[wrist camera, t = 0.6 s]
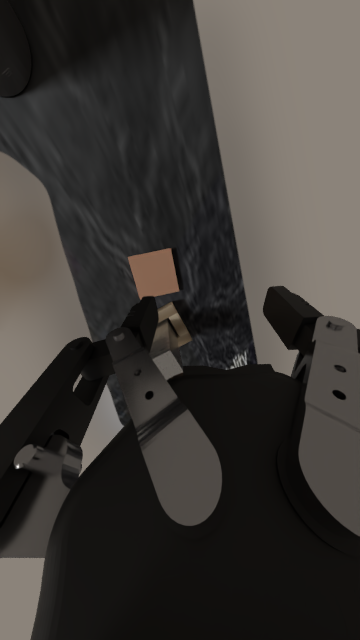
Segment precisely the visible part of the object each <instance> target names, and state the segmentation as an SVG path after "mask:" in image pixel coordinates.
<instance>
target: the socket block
mask: <svg viewBox="0 0 360 640" xmlns="http://www.w3.org/2000/svg"><path fill="white" fill-rule="evenodd" d="M157 310H158V314H159V321H158V323H159V322H161V321H163V320H165V319H167V318H168V317H169V319H170V321H171V323H172V324H173V326H174V328H175V329H176V331H177V333H176V335H177V340H178V345H179V347H180V346H181V345H183V344H185V343H187V342H189V341H191V340H192V338H191V336H190V334H189V332H188V330H187V328H186V326H185V325H184V323H183V321H182V319H181V317H180V315H179V314H178V312H177V310H176V308H175V306H174V305H173V303H172V302H170V303H168V304H166V305H164V306H163V307H161V308H159V309H157Z"/></svg>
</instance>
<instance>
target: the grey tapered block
mask: <svg viewBox="0 0 360 640" xmlns="http://www.w3.org/2000/svg"><path fill="white" fill-rule="evenodd" d="M149 355H150V357H151V358H152V360H153V361H154V363H155V364H156V366H157V367H158V369H159V370H160V372H161V373H162V375H163V376H164V378H165V379H166V380H168V379H169V378H171V377H173V376H174V375H177V374H179V373H183V365H182V360H181V355H180V350H179V345H178V340H177V335H176V331H175V329H174V328H173V326H172V324H171V322H170V321H169V319H168V318H167V319H165V320H163V321H161V322H159V323H158V325H157V328H156V332H155V336H154V339H153V343H152V347H151V350H150V354H149Z"/></svg>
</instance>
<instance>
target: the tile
mask: <svg viewBox="0 0 360 640" xmlns="http://www.w3.org/2000/svg"><path fill="white" fill-rule="evenodd" d="M128 260H129V263H130V266H131V270H132V273H133V277H134V280H135V283H136V287H137V290H138V293H139V297H140V300H141V299H142V297H143V296H154V297H155V296H159V295H164V294H168V293H173V292H178V291H179V287H178V282H177V277H176V272H175V267H174V262H173V257H172V252H171V248H169V249H164V250H159V251H155V252H150V253H145V254H140V255H135V256H130V257H128Z"/></svg>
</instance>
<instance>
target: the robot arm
mask: <svg viewBox="0 0 360 640" xmlns="http://www.w3.org/2000/svg"><path fill="white" fill-rule="evenodd" d="M31 66H32V65H31V53H30V48H29V43H28V40H27V37H26V35H25V32H24V29H23V27H22V25H21V23H20V21H19V19H18V17H17V16H16V14H15V12H14V11H13V9H12V7H11V5H10V4H9V2H8V0H0V96H3V97H8V96H14V95H17V94H18V93H20V92H21V91H22V90H23V89H24V88H25V86H26V85H27V84H28V81H29V78H30V74H31ZM263 313H264V316H265V317H266V318H267V320H268V321H269V323H270V324H271V326H272V327H273V329H274V330H275V332H276V333H277V334H278V336H279V337H280V339H281V340H282V342H283V343H284V344H285V346H286V347H287V349H288V350H296V349H298V350H299V353H298V355H297V357H296V361H295V364H294V367H293V371H292V374H291V377H290V376H288V375H285V374H282V373H279V372H275V371H274V370H273V368H272V366H271V364H254V365H245V366H241V367H237V368H233V369H229V370H223V369H218V368H213V367H208V366H183V373H179V374H177V375H174V376H173V377H171V378H169V379H168V380H166V379H165V378H164V376H163V375H162V373H161V372H160V370H159V369H158V367H157V366H156V364H155V363H154V361H153V360H152V358H151V357H150V355H149V354H150V350H151V347H152V343H153V339H154V336H155V332H156V328H157V325H158V321H159V314H158V310H157V306H156V302H155V298H154V296H143V297H142V299H141V301H140V303H137V304H136V305H134V306H133V307H132V308H131V310H130V313H129V314H128V315H127V317H126V319H125V320H124V322H123V324H122V326H121V327H120V328H117V329H114V330H112V331H111V332H110V333H109V334H108V335H107V336H106V338H105V340H101V341H97V342H94V343H92V342H91V340H90V339H89V338H87V337H81V338H77V339H75V340H73V341H71V342H70V343H68V344H67V345H66V346H65V347H64V348H63V349H62V351H61V352H60V353H59V354H58V355H57V357H56V358H55V359H54V360H53V361H52V363H51V364H50V365H49V366H48V367H47V369H46V370H45V371H44V372H43V373H42V375H41V376H40V377H39V378H38V380H37V381H36V382H35V383H34V384H33V386H32V387H31V388H30V389H29V390H28V392H27V393H26V394H25V395H24V396H23V398H22V399H21V400H20V401H19V403H18V404H17V405H16V406H15V407H14V409H13V410H12V411H11V412H10V413H9V415H8V416H7V417H6V418H5V419H4V421H3V422H2V423H1V424H0V558H45V562H44V569H43V576H42V584H41V591H40V597H39V602H38V608H37V613H36V618H35V622H34V627H33V631H32V636H31V640H360V329H356V328H355V326H354V325H353V324H352V323H350V322H348V321H346V320H343V319H341V318H337V317H333V316H324V315H322V314H321V313H320V312H319V311H317V310H316V309H315V308H314V307H312V306H311V305H309V303H308V302H306V301H305V300H304V299H303V298H301V297H300V296H298V295H296V294H294V293H291V292H290V291H289V290H288V289H286V288H285V287H284V286H275V287H269V289H268V291H267V295H266V298H265V302H264V306H263ZM115 373H116V376H117V379H118V381H119V384H120V387H121V390H122V392H123V395H124V398H125V401H126V403H127V406H128V409H129V412H130V415H131V417H132V418H131V419H130V420H129V421H128V423H127V424H126V425H125V426H124V427H123V428H122V429H121V431H120V432H119V433H118V434H117V435H116V436H115V437H114V438H113V439H112V440H111V442H110V443H109V444H108V445H107V446H106V447H105V448H104V449H103V450H102V452H101V453H100V454H99V455H98V456H97V457H96V458H95V459H94V461H93V462H92V463H91V464H90V465H89V466H88V467H87V468H86V470H85V471H84V472H83V473H82V474H81V475H80V477H79V474H80V472H81V469H82V464H81V462H82V456H83V454H82V449H81V447H80V445H81V443H82V440H83V438H84V435H85V433H86V430H87V428H88V426H89V423H90V421H91V419H92V416H93V414H94V411H95V409H96V406H97V404H98V401H99V399H100V397H101V394H102V392H103V390H104V387H105V385H106V382H107V380H108V378H109V375H112V374H115ZM80 374H81V375H82V378H81V380H80V381H79V383H78V385H77V387H76V388H75V390H74V392H73V385H74V383H75V382H76V380H77V378H78V376H79V375H80Z"/></svg>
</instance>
